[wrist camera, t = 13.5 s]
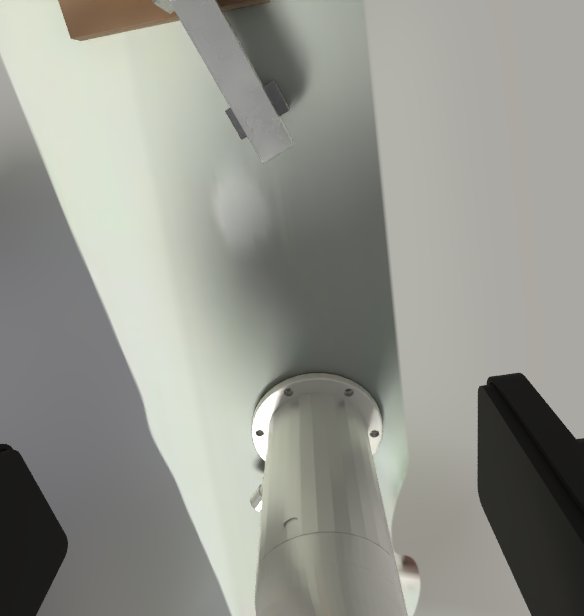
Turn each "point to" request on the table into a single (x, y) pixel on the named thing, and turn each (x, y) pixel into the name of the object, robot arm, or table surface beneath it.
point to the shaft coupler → (235, 76)
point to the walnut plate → (122, 15)
